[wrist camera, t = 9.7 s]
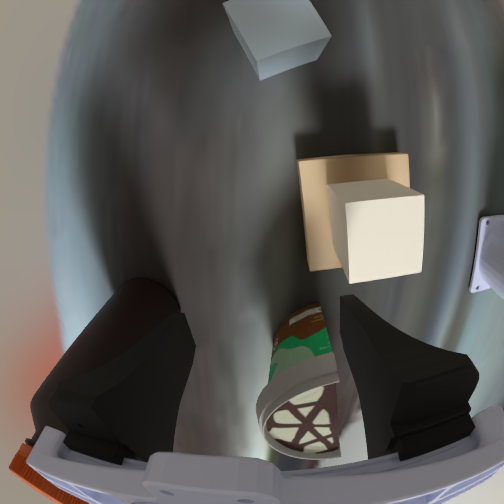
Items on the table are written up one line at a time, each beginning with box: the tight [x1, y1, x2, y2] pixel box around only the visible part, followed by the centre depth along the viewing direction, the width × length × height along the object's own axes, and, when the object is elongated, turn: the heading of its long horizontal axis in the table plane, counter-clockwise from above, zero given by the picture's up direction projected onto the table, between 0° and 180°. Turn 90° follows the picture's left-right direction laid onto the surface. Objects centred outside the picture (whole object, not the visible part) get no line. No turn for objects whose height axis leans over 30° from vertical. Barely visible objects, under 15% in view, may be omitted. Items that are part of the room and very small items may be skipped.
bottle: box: [9, 279, 180, 504], centre depth 16 cm, size 7×7×20 cm
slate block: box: [223, 0, 331, 80], centre depth 14 cm, size 4×4×6 cm
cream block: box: [327, 179, 424, 284], centre depth 16 cm, size 4×4×6 cm
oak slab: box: [296, 152, 410, 271], centre depth 20 cm, size 8×8×2 cm
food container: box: [256, 302, 341, 459], centre depth 22 cm, size 12×6×10 cm, turn 14°
